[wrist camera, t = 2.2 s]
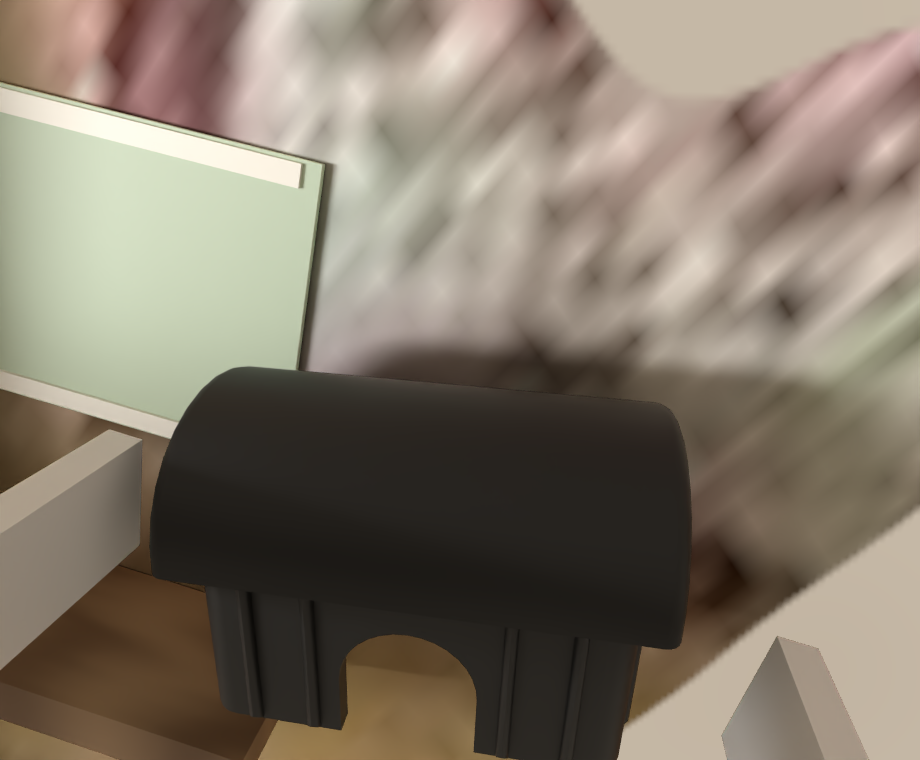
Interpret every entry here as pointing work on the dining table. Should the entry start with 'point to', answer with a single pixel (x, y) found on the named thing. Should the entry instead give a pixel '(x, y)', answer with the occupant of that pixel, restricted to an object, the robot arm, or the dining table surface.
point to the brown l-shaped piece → (130, 677)
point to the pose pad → (144, 258)
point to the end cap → (430, 544)
